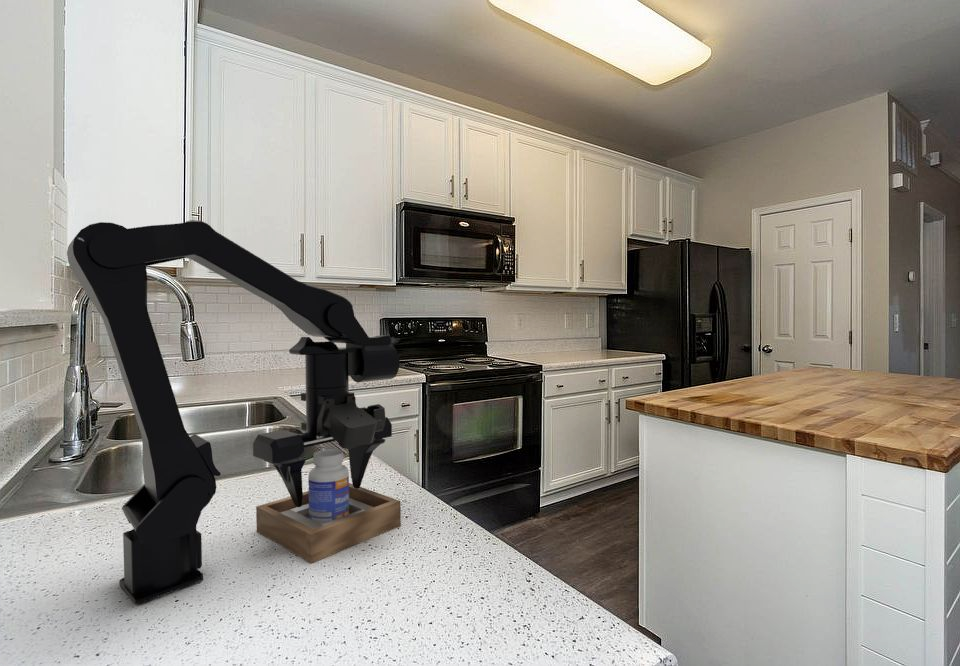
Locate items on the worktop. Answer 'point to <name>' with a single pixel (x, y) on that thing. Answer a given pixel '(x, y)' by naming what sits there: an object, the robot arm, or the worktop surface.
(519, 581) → the worktop surface
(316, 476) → the pill bottle
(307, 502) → the walnut box
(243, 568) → the worktop surface
